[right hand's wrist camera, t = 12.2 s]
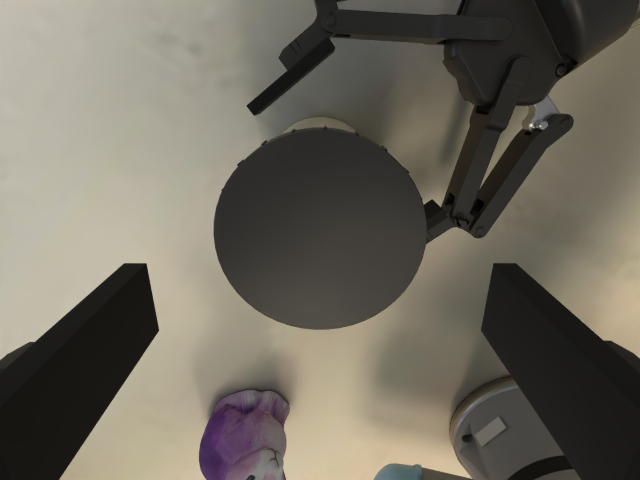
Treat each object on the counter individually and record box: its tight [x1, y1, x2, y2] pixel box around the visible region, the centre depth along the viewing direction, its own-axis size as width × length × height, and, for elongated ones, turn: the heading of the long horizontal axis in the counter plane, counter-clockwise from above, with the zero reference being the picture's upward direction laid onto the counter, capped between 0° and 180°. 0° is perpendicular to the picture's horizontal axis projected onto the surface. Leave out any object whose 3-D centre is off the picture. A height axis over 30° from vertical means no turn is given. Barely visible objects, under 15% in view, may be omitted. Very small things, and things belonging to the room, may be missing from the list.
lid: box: [214, 125, 427, 330], centre depth 19 cm, size 10×10×2 cm
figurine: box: [199, 390, 289, 480], centre depth 37 cm, size 9×10×15 cm
